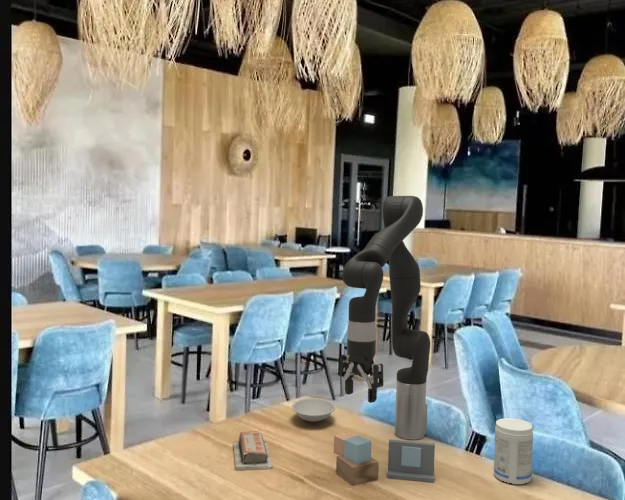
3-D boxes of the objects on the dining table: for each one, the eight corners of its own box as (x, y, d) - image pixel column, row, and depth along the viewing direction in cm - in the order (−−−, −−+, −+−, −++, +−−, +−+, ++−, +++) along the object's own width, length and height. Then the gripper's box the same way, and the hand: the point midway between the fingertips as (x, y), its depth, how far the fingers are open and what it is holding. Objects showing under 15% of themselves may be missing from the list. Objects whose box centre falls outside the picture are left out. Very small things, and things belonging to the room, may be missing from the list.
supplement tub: (528, 472, 164) (531, 419, 163) (533, 488, 155) (536, 432, 154) (491, 468, 166) (494, 415, 165) (494, 483, 157) (496, 428, 156)
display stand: (388, 468, 164) (389, 436, 164) (433, 472, 162) (434, 440, 161) (387, 478, 158) (388, 444, 158) (433, 482, 156) (435, 448, 156)
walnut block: (361, 468, 164) (362, 450, 164) (378, 480, 157) (378, 462, 157) (336, 474, 160) (336, 455, 160) (351, 486, 153) (352, 467, 153)
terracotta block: (346, 448, 177) (347, 432, 177) (358, 454, 174) (358, 437, 173) (333, 452, 174) (334, 435, 174) (345, 458, 170) (346, 441, 170)
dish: (334, 431, 190) (334, 416, 190) (288, 429, 191) (289, 414, 191) (336, 413, 208) (336, 399, 208) (294, 411, 209) (294, 397, 209)
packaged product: (232, 430, 178) (266, 428, 179) (232, 446, 178) (266, 444, 180) (235, 454, 160) (273, 453, 162) (235, 472, 160) (272, 470, 162)
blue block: (357, 453, 162) (358, 435, 162) (370, 459, 158) (371, 441, 158) (344, 458, 159) (344, 439, 158) (357, 464, 155) (357, 445, 155)
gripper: (391, 340, 155) (389, 402, 156) (353, 330, 166) (352, 388, 167) (370, 344, 150) (369, 408, 151) (332, 334, 161) (331, 393, 162)
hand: (360, 397), depth 159 cm, fingers open, 8 cm apart
